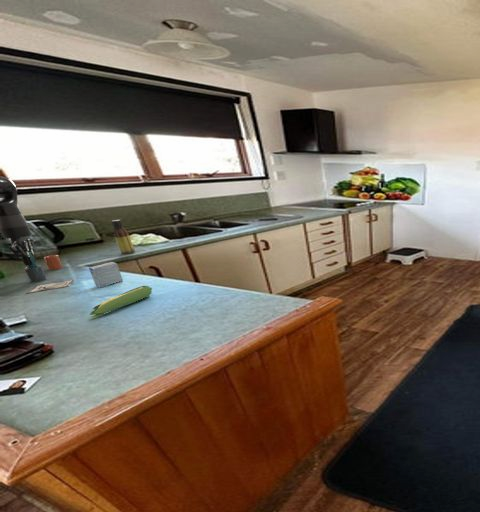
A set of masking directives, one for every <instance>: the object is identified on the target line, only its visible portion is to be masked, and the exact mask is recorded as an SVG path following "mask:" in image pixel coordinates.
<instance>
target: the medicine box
mask: <svg viewBox="0 0 480 512" xmlns="http://www.w3.org/2000/svg"><path fill="white" fill-rule="evenodd" d="M88 270H89V272H90V275H91V277H92V280H93V282H94V285H95V286H96V287H98V288H100V287H101V288H104V287H107V286H110V284H111V285H113V283H114V284H117V283H120V282H123V281H122V280H124V279H123V277H122V274H121V271H120V269H119V265H118V263H116V262H113V261H110V262H105V263H102V264H98V265H94V266H91V267H88ZM119 281H120V282H119ZM116 282H117V283H116Z"/></svg>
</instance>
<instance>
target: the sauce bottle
mask: <svg viewBox="0 0 480 512" xmlns="http://www.w3.org/2000/svg"><path fill="white" fill-rule="evenodd" d="M111 224H112V225H113V229H114V230H113V232H114V233H113V237H114V239H115V241H116V244H117V246H118V249H119V252H120V253H121V254H122V255H128V254H127V253H129V254H132V253H134V252H135V251H136V250H135V248H134V244H133V242H132V239H131V237H130V234H129V232H128V230H127V229H126V228H125V227H124V226H123V223H122V219H113V220H111Z"/></svg>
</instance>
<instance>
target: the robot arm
mask: <svg viewBox="0 0 480 512" xmlns="http://www.w3.org/2000/svg"><path fill="white" fill-rule="evenodd" d="M0 233H1V236H2V238H3V239H9V240H10V243H11V245H9V246H8V249H9V250H10V251H11V252H12V253H13V254H14V255H15V257H17V258H21V260H22V261H23V264H24V265H25V266H27V265H32V264H33V262H32V259H31V257H30V255H29V253H28V252H30V253H31V255H32V257H33V259H34V261H35V263H36V264H37V261H38V260H37V259H36V257H35V252H36V246H35V241H34V239H33V238H29V236H31V235H32V234H33V233H32V231H31V229H30V227H29V225H28V222H27V220H26V218H25V216H24V215H23V213H22V211H21V208H20V207H19V205H18V189H17V187H16V184H15V183H14V182H13V181H12V180H11V179H10V178H8V177H5V176H2V175H1V176H0Z"/></svg>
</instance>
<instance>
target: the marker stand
mask: <svg viewBox="0 0 480 512" xmlns="http://www.w3.org/2000/svg"><path fill="white" fill-rule="evenodd" d="M36 265H37V267H35V268H28V266H27V267H25V268H23V269H24V271H25V273H26V275H27V277H28V279H29V281H30V283H32V284H33V283H40V282H43V281H46V280H47V276H46V274H45V271H44V270H43V267H42V265H41V264H36Z"/></svg>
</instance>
